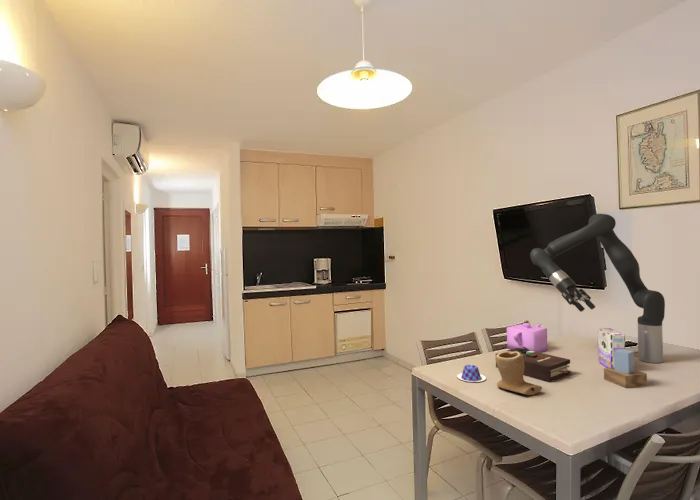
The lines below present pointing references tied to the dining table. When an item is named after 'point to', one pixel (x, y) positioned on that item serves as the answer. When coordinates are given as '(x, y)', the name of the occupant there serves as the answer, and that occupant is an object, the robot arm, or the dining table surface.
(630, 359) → the slate-blue block
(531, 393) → the tan hollow piece
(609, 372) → the walnut block
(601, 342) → the candy box
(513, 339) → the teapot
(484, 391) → the dining table surface
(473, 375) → the pudding
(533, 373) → the decorative book
